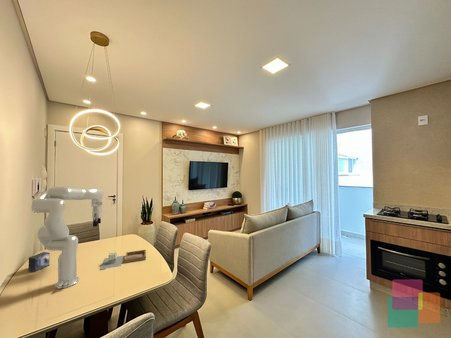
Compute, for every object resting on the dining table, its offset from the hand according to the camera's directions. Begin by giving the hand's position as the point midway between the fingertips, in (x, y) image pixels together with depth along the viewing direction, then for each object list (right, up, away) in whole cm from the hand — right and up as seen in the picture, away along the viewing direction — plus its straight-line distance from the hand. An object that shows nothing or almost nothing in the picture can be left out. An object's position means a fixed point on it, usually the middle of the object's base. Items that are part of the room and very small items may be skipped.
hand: (96, 224), depth 161 cm
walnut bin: (+30, -30, +5) cm, 42 cm away
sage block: (+15, -29, -3) cm, 33 cm away
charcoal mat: (+15, -30, -3) cm, 33 cm away
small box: (-37, -31, -11) cm, 49 cm away
